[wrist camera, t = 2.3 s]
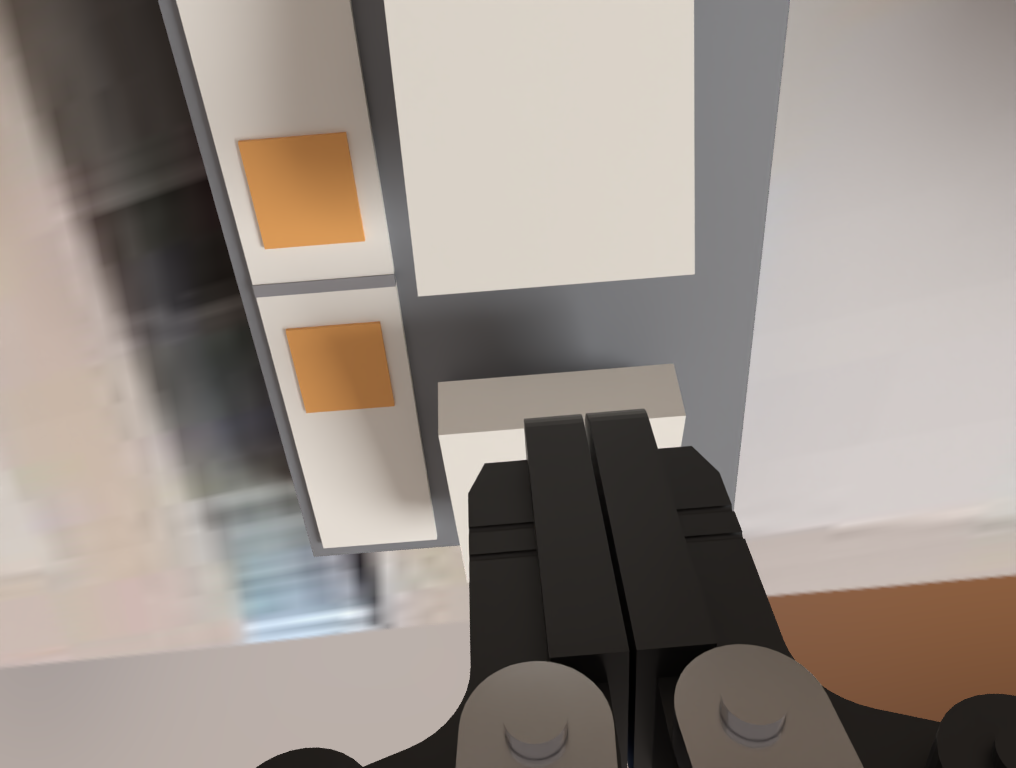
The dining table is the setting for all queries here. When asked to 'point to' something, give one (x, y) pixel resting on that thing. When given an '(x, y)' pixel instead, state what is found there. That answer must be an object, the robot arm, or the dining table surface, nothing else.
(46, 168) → the dining table surface
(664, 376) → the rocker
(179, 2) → the switch unit
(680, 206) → the rocker middle
